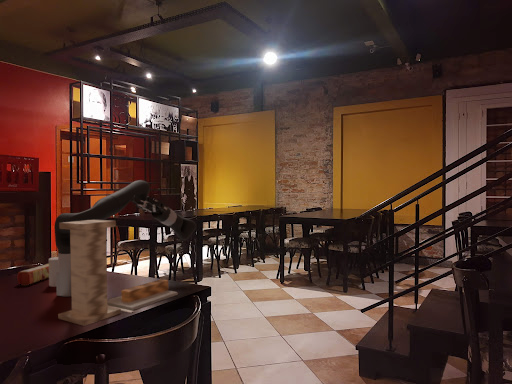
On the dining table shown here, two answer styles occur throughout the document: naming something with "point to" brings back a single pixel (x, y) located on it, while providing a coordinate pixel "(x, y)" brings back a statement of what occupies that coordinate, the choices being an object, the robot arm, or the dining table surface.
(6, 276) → the dining table surface
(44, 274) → the snack package
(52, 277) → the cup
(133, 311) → the line
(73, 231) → the stand
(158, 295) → the mat
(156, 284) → the bar
